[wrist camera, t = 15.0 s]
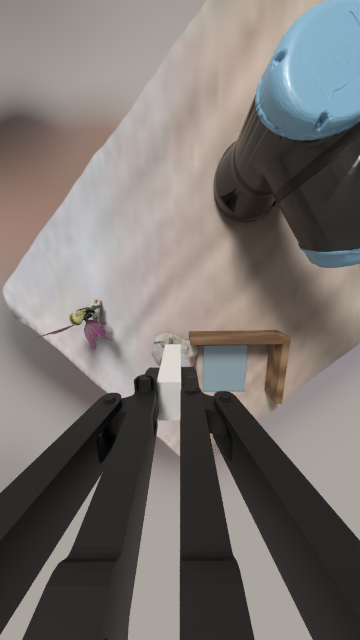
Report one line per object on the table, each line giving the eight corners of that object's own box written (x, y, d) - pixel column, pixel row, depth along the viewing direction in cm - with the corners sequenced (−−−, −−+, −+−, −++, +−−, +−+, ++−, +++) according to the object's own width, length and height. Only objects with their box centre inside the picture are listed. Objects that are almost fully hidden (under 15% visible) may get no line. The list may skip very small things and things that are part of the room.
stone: (149, 359, 49) (147, 364, 45) (157, 328, 47) (156, 331, 44) (190, 371, 49) (191, 376, 46) (200, 340, 48) (201, 344, 44)
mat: (203, 345, 48) (203, 345, 48) (247, 344, 48) (247, 345, 48) (202, 390, 51) (202, 391, 51) (243, 390, 51) (244, 390, 51)
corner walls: (188, 331, 47) (190, 338, 41) (276, 330, 47) (290, 337, 41) (189, 390, 51) (190, 404, 45) (270, 389, 51) (281, 404, 45)
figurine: (124, 302, 46) (97, 312, 31) (122, 331, 47) (97, 354, 33) (71, 295, 45) (19, 303, 31) (72, 325, 47) (23, 346, 32)
